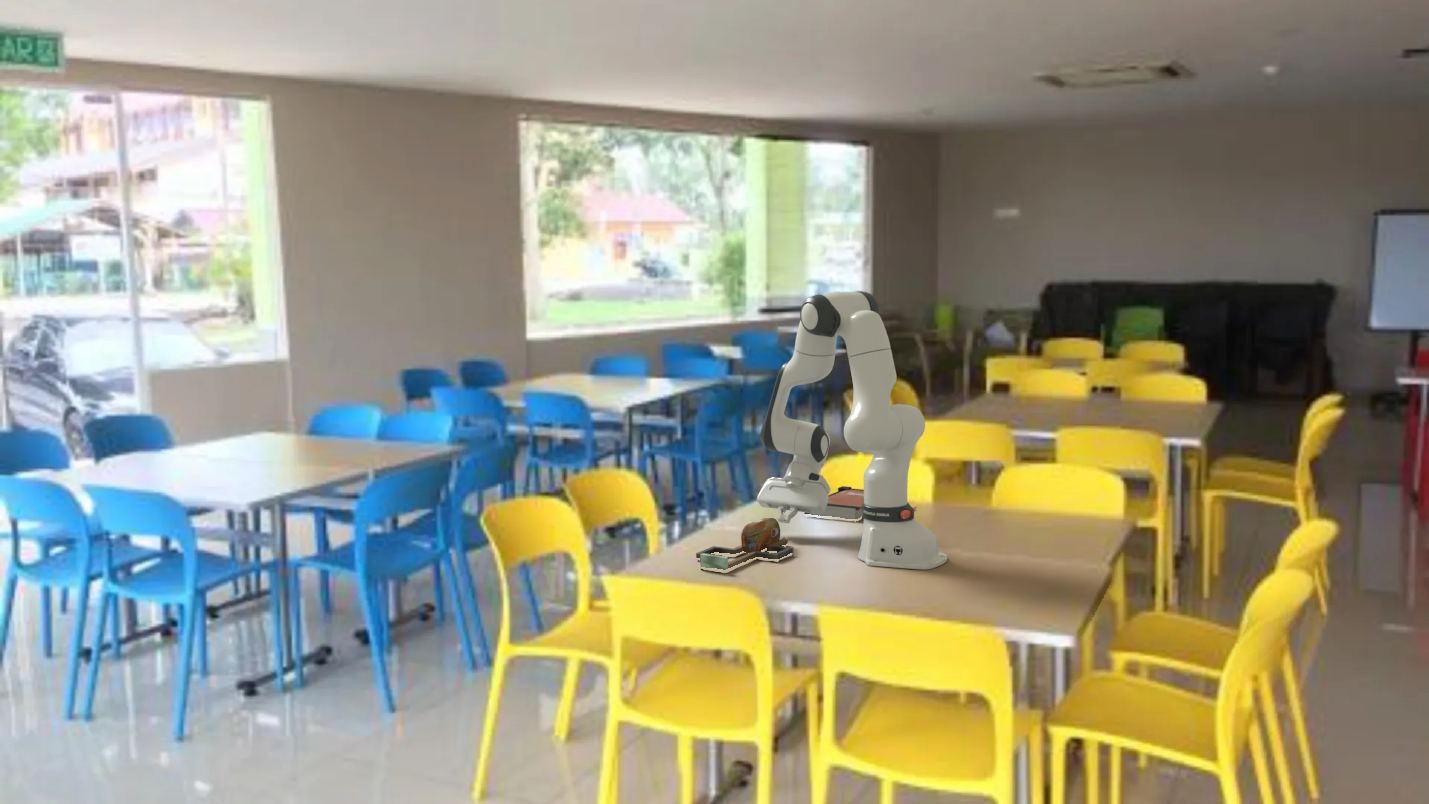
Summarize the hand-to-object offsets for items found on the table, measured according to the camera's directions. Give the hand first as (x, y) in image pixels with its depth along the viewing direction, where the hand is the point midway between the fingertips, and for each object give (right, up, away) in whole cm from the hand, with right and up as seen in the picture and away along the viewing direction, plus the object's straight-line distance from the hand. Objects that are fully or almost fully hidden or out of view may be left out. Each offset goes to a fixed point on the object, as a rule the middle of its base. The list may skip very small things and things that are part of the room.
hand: (782, 521), depth 324 cm
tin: (-6, -7, -10) cm, 14 cm away
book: (+22, -1, +36) cm, 42 cm away
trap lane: (-10, -8, -16) cm, 20 cm away
